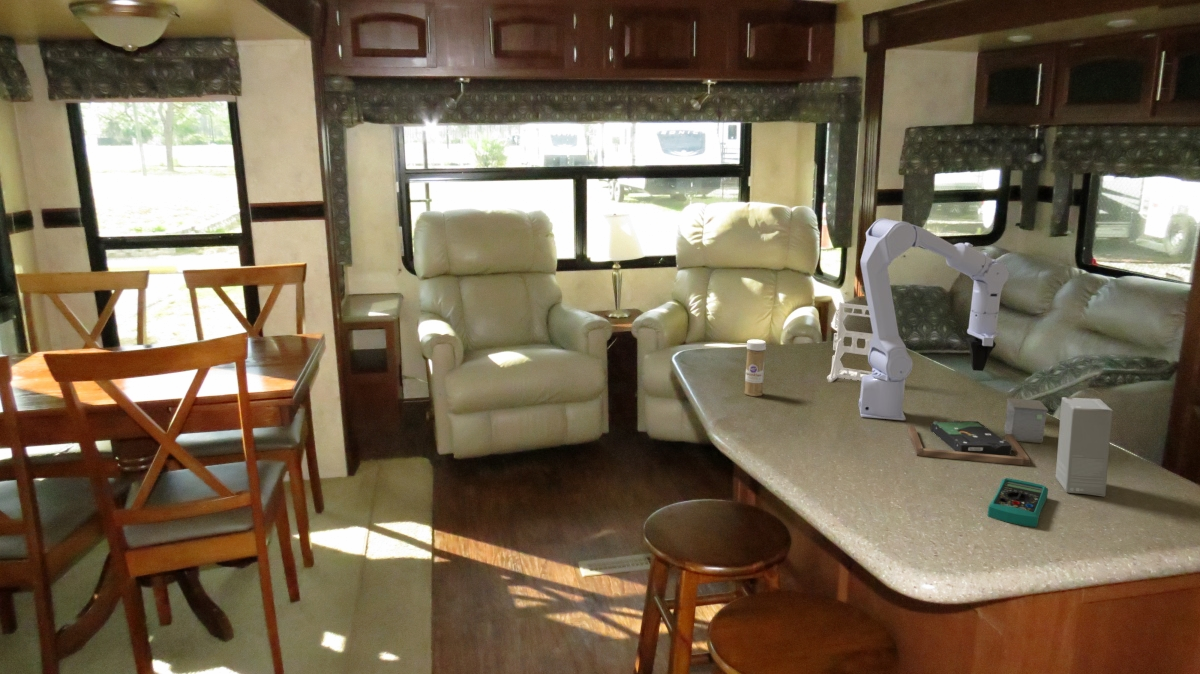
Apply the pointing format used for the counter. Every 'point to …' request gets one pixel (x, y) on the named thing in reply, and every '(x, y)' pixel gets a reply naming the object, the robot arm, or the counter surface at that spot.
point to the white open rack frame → (853, 349)
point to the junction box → (1025, 420)
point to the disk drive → (971, 437)
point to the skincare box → (1083, 445)
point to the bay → (1019, 452)
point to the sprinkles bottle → (755, 367)
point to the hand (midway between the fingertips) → (977, 369)
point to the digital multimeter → (1018, 502)
